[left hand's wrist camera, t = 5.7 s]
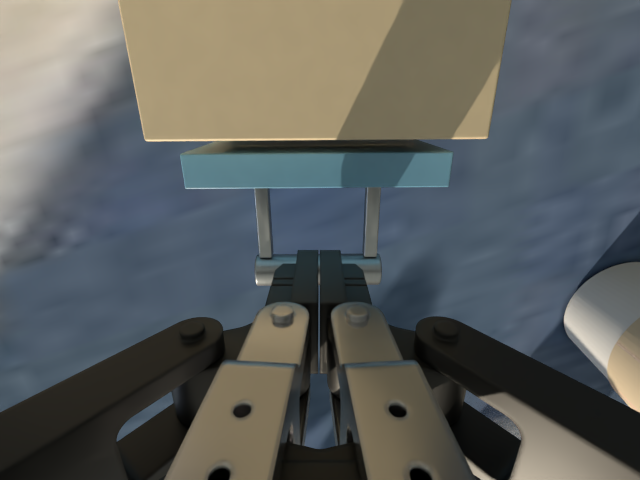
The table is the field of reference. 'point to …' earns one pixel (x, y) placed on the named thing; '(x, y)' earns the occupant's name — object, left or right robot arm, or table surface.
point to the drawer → (316, 181)
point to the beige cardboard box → (314, 68)
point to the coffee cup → (610, 327)
